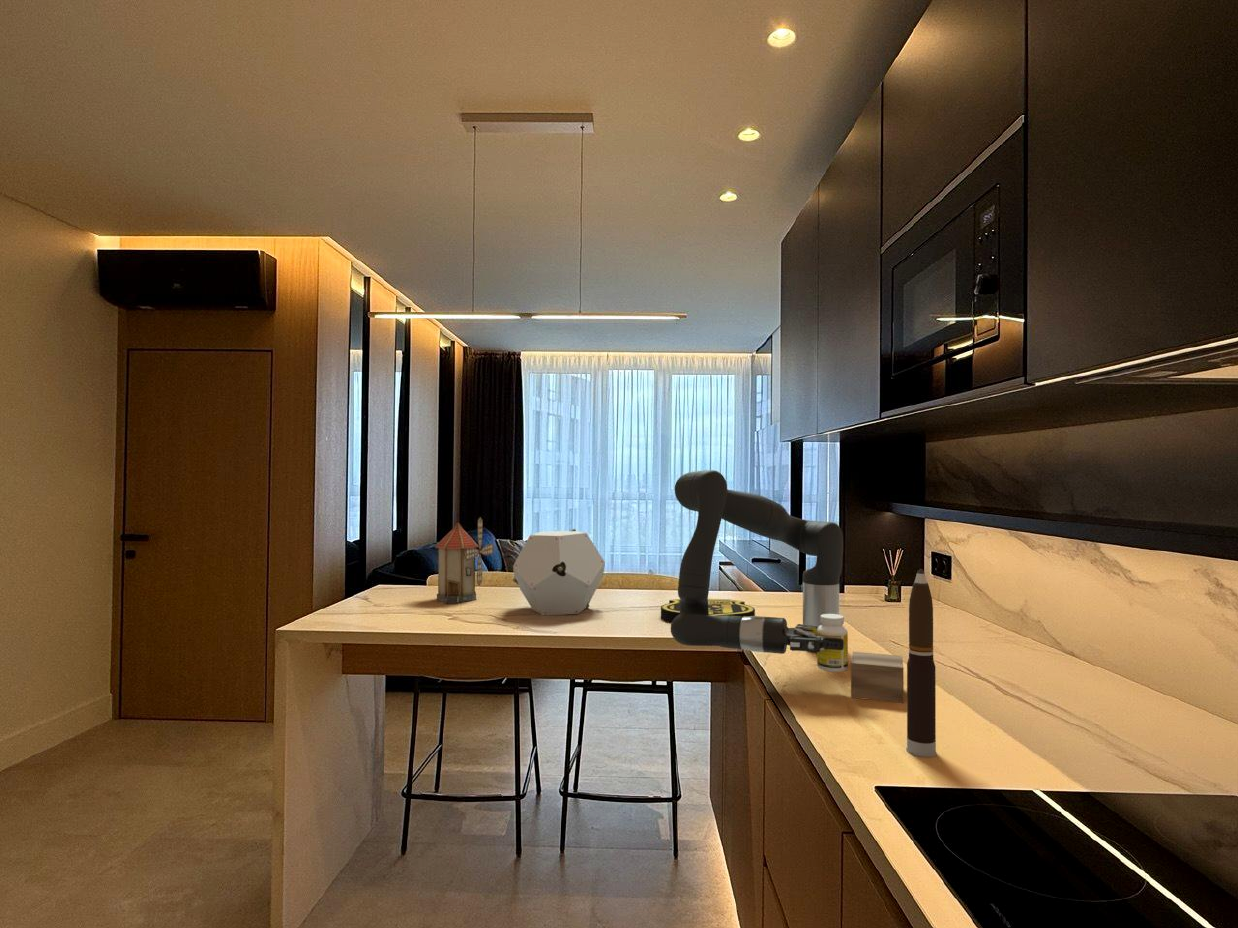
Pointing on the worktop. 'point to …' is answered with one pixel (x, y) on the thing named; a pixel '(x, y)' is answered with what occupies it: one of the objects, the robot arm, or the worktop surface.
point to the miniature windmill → (460, 565)
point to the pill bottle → (829, 657)
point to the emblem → (709, 608)
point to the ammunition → (921, 672)
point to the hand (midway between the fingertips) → (844, 640)
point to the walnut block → (877, 677)
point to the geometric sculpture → (559, 571)
